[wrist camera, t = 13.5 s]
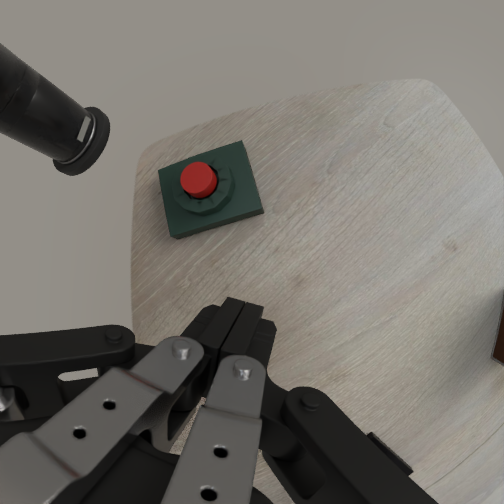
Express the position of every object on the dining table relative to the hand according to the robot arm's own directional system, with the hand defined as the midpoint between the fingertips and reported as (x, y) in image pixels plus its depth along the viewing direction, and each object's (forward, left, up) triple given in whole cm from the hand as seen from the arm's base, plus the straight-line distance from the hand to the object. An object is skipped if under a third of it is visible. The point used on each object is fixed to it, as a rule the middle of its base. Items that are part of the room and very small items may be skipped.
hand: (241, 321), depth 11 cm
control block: (-11, +6, -18) cm, 22 cm away
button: (-11, +6, -14) cm, 19 cm away
